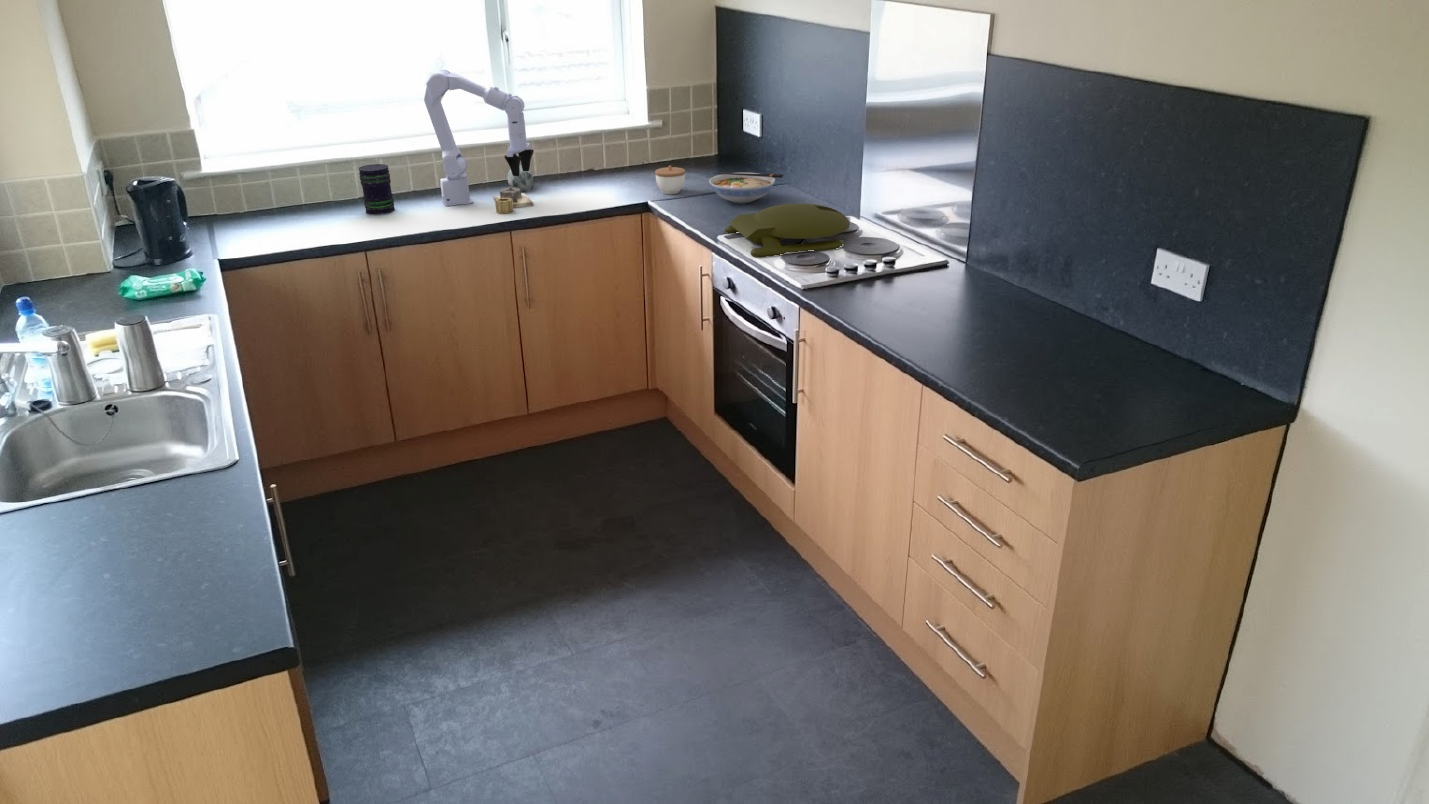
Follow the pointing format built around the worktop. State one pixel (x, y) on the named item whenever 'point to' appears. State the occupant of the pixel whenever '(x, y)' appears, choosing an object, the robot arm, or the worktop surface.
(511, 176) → the spool
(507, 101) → the robot arm
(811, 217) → the green sea turtle
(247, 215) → the worktop surface
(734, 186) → the ramen bowl
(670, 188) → the lidded jar
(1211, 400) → the worktop surface
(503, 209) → the brass gear
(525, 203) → the gear board
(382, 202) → the black green cylinder
